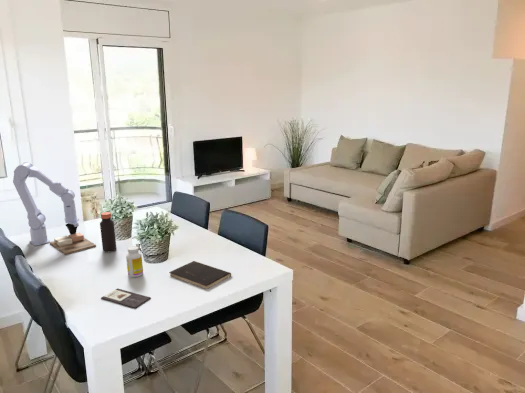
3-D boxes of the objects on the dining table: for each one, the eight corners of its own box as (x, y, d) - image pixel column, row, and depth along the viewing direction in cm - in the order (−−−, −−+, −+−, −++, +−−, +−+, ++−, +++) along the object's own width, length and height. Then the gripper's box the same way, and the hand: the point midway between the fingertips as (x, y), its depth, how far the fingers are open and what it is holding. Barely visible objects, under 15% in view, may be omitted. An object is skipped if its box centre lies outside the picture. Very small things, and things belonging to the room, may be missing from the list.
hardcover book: (206, 290, 180) (206, 285, 180) (169, 276, 194) (169, 272, 193) (231, 277, 193) (231, 272, 192) (194, 264, 206) (194, 260, 206)
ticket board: (50, 243, 234) (49, 237, 233) (79, 236, 244) (78, 230, 244) (65, 254, 218) (64, 248, 218) (96, 246, 229) (95, 240, 228)
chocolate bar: (134, 307, 165) (101, 297, 173) (135, 309, 165) (101, 299, 173) (150, 297, 173) (117, 288, 181) (151, 299, 173) (117, 290, 181)
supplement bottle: (146, 272, 197) (143, 246, 194) (137, 278, 191) (135, 251, 188) (133, 270, 199) (131, 244, 196) (124, 276, 193) (122, 249, 190)
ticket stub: (68, 239, 236) (68, 235, 236) (79, 236, 240) (79, 232, 240) (72, 242, 232) (72, 237, 232) (84, 239, 236) (83, 235, 236)
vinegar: (107, 253, 220) (103, 216, 214) (100, 250, 224) (96, 213, 219) (119, 249, 225) (115, 213, 219) (112, 246, 229) (108, 210, 224)
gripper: (82, 213, 233) (85, 237, 237) (72, 208, 243) (75, 231, 247) (69, 216, 228) (72, 240, 232) (59, 211, 238) (62, 234, 242)
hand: (73, 236), depth 239 cm, fingers closed
